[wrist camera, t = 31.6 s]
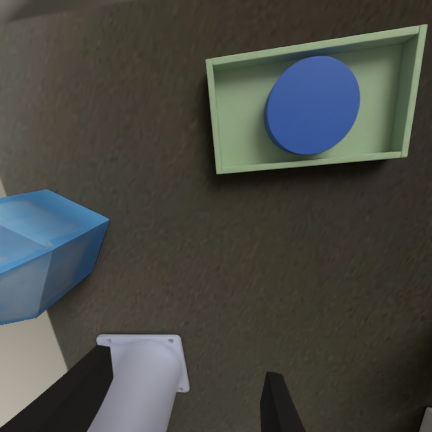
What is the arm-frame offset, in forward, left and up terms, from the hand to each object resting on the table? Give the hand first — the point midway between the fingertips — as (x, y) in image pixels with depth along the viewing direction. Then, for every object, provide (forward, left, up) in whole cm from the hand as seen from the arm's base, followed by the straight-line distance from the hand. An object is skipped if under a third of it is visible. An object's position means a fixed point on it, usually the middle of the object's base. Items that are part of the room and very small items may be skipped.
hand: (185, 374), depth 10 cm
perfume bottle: (-13, +4, -11) cm, 17 cm away
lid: (+8, +12, -9) cm, 16 cm away
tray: (+8, +12, -10) cm, 17 cm away
